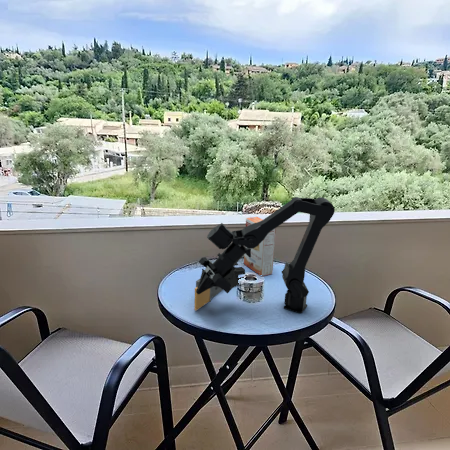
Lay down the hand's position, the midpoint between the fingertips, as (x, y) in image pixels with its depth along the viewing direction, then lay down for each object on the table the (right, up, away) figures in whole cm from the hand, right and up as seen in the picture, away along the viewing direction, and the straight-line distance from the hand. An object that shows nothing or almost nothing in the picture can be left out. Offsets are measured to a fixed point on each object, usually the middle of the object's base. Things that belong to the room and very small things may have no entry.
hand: (197, 293), depth 140 cm
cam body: (+4, -2, +16) cm, 16 cm away
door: (+1, -5, +6) cm, 8 cm away
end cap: (+11, 0, +26) cm, 29 cm away
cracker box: (+23, +4, +38) cm, 44 cm away
